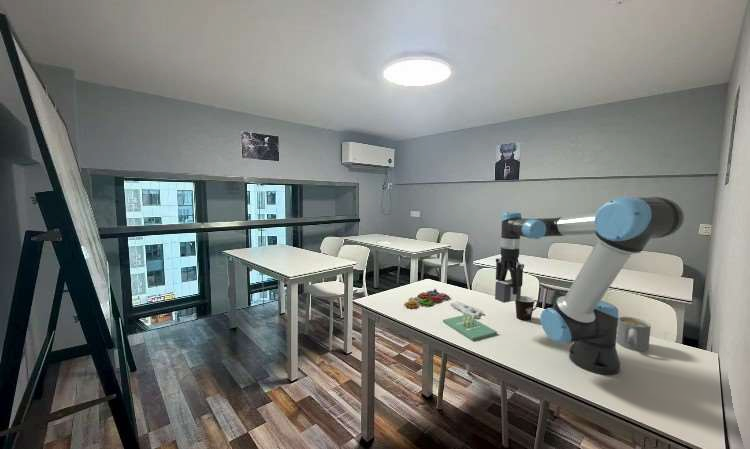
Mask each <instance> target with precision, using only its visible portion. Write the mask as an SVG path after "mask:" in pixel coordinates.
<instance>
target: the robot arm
mask: <svg viewBox="0 0 750 449" xmlns="http://www.w3.org/2000/svg"><path fill="white" fill-rule="evenodd" d="M684 222H685V213H684V211H683V208H682V207H681V206H680V205H679V204H678V203H677V202H675V201H674V200H672V199H668V198H666V197H659V196H654V197H650V196H649V197H636V196H625V197H619V198H613V199H611V200H608V201H606V202H604V204H602V205H600V207H599V208H598V210H597V211H596V212H593V213H584V214H577V215H576V214H575V215H567V216H559V217H551V218H550V217H549V218H545V217H544V218H523V217H522V213H521V212H517V211H516V212H515V211H505V212H503V213H502V218H501V238H500V246H501V247H500V256H501V257H500V258H495V263H496V264H495V265H496V266H495V267H496V268H495V280H497V281H503V280H506V278H507V275H508V272H510V273H509V274H510V279H511V280H512V286H511V291H510V301H511V302H515V301H516V294H517V293H518V287H521V288H522V287H523V276H524V273H523V272H524V268H525V264H523V263H520V261H519V257H520V246H521V237H524V238H527V239H534V240H540V239H541V238H544V237H563V236H564V237H565V236H566V237H567V236H583V235H595V237H596V238H595V239H596V240H597V241H596V242H595V245H594V246H593V248H592V250H591V252H590V253H589V255H588V257H587V258H586V260H585V262H584V263H583V265H582V267H581V269H580V270H579V272H578V274H577V276H576V277H575V279H574V280H573V282H572V284H571V286H570V287H569V290H568V291H567V293H566V294H565V295H562V296H559V297H558V298H557V299H556V301H555V303H554V304H553V306H552V307H547V308H545V309H543V310H542V311H541V313H540V324H541V326H542V330H543V331H544V333H545V335H546V336H547V337H548V338H549V339H551V341H553V342H554V343H558V344H570V343H572V344H571V347H570V349H569V352H568V358H569V360H570V361H571V362H572V363H573V364H574V365H576V366H577V367H580V368H581V369H584V370H586V371H589V372H591V373H594V374H595V373H596V374H598V375H599V374H600V375H608V376H609V375H617V374H619V373H620V371H621V361H620V358H619V354H618V350H617V348H616V346H617V342H616V340H617V329H618V319H619V317H620V316H619V309H618V308H617V306H615V305H614V304H612V303H609V302H606V301H605V300H602V299H603V297H604V296H605V294H606V293H607V291H608V289H610V288H611V285H612V284H613V283H614V281H615V280H616V278H617V277H618V275H619V274H620V272H621V271H622V269H623V267H624V266H625V265H626V264H627V262H628V261H629V258H630V257H631V256H632V255H635V254H640V253H642V252H643V251H644V249H645V247H646V246H647V244H648V243H649V241H650V240H651V239H662V238H667V237H669V236H671V235H674V234H675V233H677V232H678V231H680V229H681V228H682V226H683V224H684Z"/></svg>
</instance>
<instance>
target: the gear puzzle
mask: <svg viewBox="0 0 750 449" xmlns="http://www.w3.org/2000/svg"><path fill="white" fill-rule="evenodd" d="M451 298H452V297H450V295H448V294H447V293H444V292H439V291H438V290H437V288H434V289H433V290H428V291H427V290H426V292H421V293H419V294H418V295H417V296H415V297H409V298H408V299H407V300H408V301H407V302H404V304H403V306H405V308H409V309H416V308H419V307H424V308H429V307H431V306H435V305H437V304H439V303H443V302H446V301H447V300H451Z"/></svg>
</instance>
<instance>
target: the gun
mask: <svg viewBox="0 0 750 449" xmlns="http://www.w3.org/2000/svg"><path fill="white" fill-rule="evenodd" d="M450 307H452V308H454V309H457V310H459V311H460V312H462V314H463V315H467V316H469V317H471V318H472V316H475V317H474V319H481V316H483V315H484V312H483V310H481V309H479V308H477V307H473V306H472V305H468V304H465V303H462V302H460V301H457V300H456V302H452V303H451V302H450ZM480 315H481V316H480Z"/></svg>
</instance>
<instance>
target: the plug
mask: <svg viewBox="0 0 750 449" xmlns="http://www.w3.org/2000/svg"><path fill="white" fill-rule="evenodd" d="M511 286H512V280H511V278H510V279H505V280H503V281H498V280H497V281H495V288H494V289H495V291H494V292H495V293H494V299H495V300H496V301H498V302H501V303H503V304H504V303H509V302H511V301H510V291H511ZM521 296H522V286H521V287H518V293H517V294H516V300H520V298H521Z"/></svg>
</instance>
